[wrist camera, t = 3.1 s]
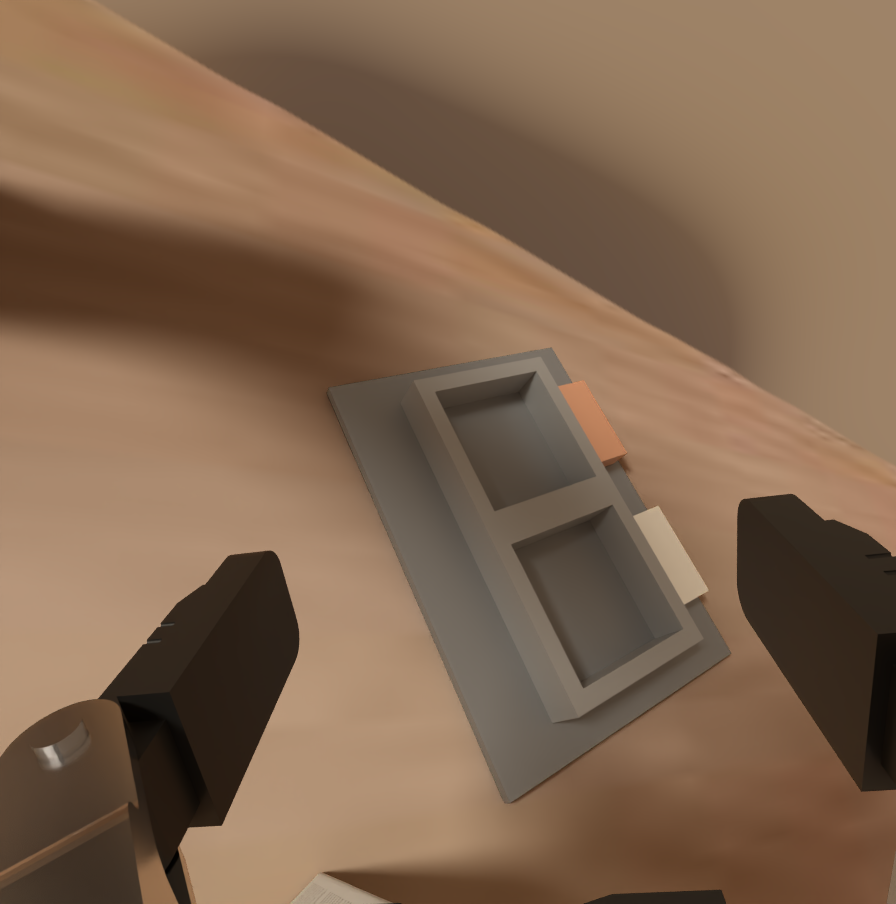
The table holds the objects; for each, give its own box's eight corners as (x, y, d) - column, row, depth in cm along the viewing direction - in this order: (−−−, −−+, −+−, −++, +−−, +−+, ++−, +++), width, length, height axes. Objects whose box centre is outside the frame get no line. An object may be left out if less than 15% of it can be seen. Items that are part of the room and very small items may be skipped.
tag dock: (326, 392, 36) (338, 362, 34) (547, 352, 45) (569, 326, 43) (504, 803, 29) (535, 803, 26) (724, 655, 38) (763, 644, 36)
